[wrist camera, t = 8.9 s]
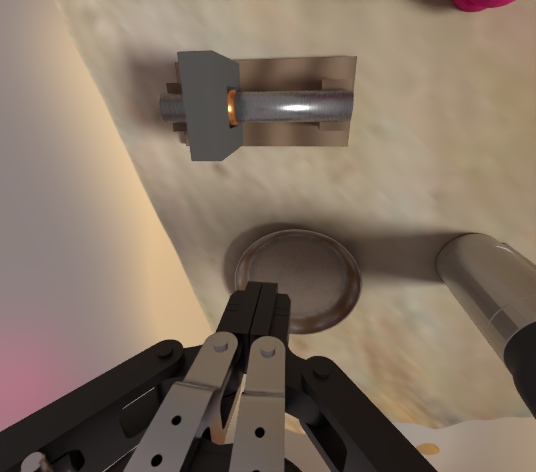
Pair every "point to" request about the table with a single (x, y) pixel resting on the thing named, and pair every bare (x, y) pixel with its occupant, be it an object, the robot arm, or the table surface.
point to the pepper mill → (480, 4)
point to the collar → (209, 104)
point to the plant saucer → (305, 276)
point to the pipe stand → (290, 79)
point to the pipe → (272, 106)
